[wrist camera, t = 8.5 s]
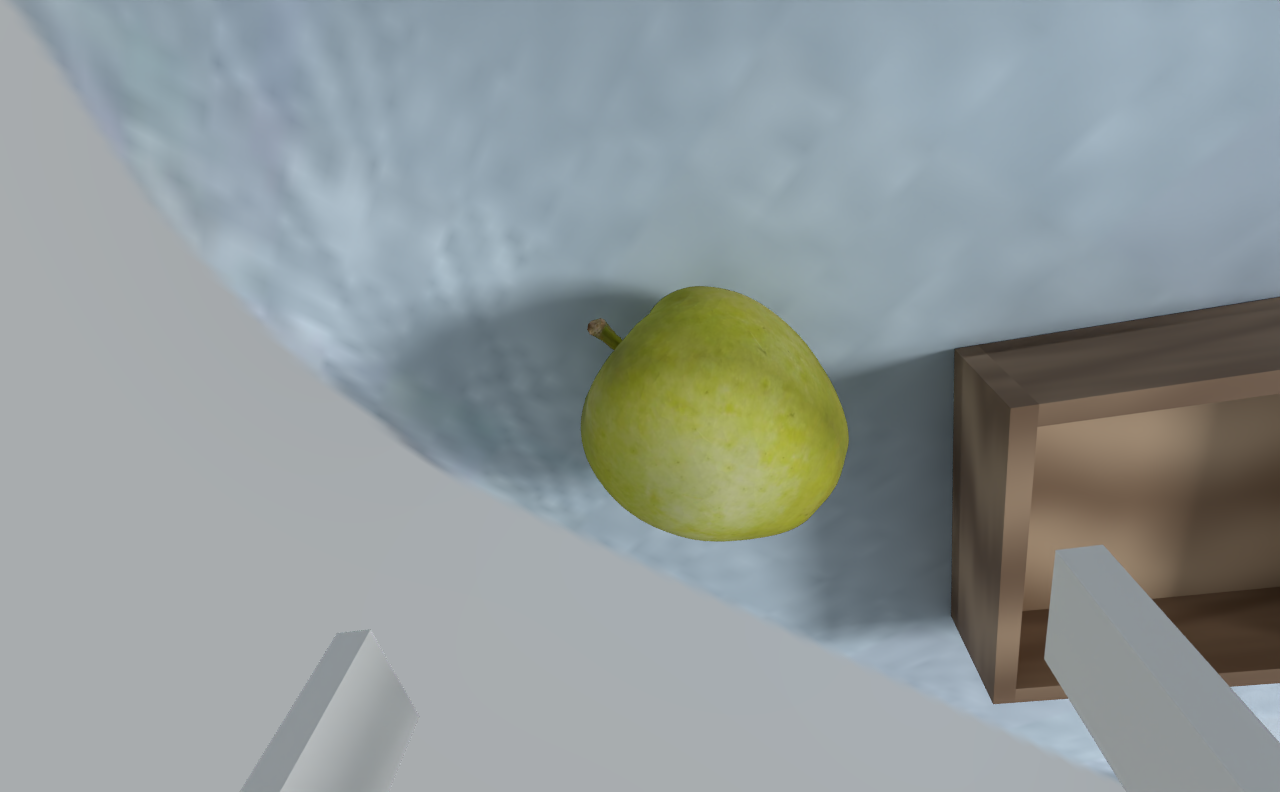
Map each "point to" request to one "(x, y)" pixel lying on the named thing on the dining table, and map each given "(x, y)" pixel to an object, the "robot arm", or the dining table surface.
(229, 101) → the dining table surface
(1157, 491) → the walnut box
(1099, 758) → the dining table surface
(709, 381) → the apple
